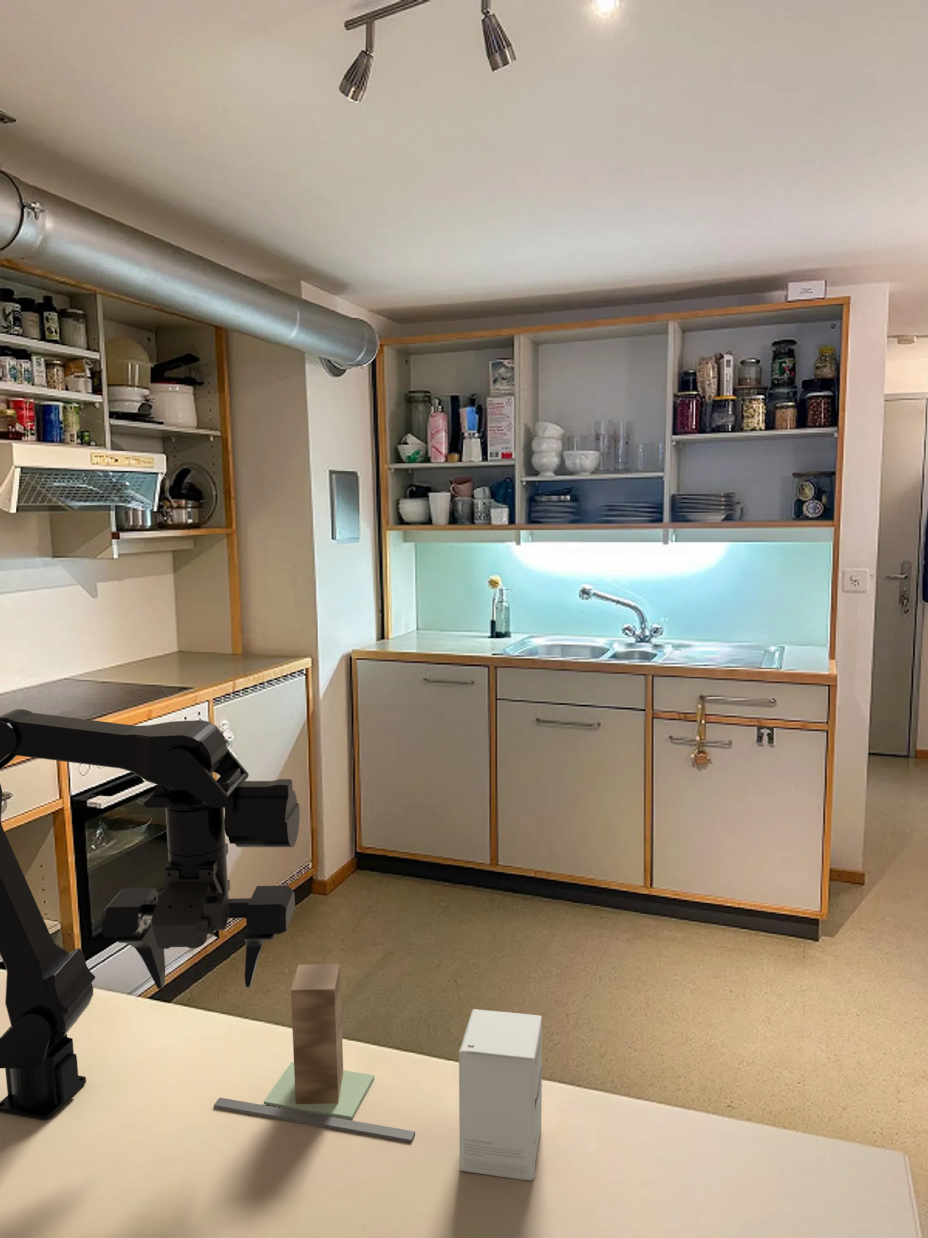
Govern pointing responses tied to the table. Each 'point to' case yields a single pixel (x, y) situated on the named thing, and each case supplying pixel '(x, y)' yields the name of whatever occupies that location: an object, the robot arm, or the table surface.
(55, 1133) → the table surface
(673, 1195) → the table surface
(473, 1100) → the supplement box
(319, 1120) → the charcoal strip
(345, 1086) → the mat
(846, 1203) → the table surface
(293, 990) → the walnut post
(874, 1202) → the table surface
